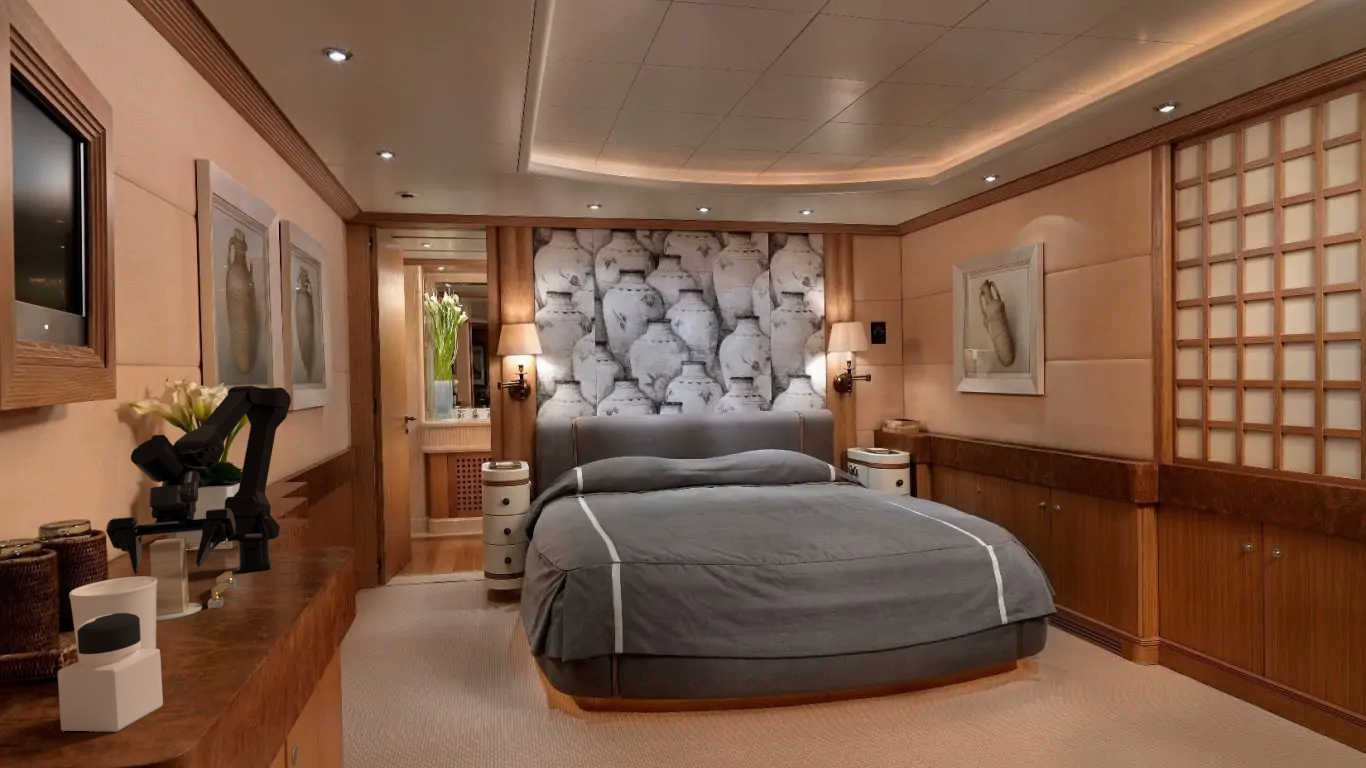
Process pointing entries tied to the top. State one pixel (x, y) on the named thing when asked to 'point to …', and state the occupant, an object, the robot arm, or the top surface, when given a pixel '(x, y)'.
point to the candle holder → (119, 603)
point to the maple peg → (170, 575)
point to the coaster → (189, 611)
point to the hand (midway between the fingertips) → (167, 568)
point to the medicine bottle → (109, 677)
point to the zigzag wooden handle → (221, 589)
